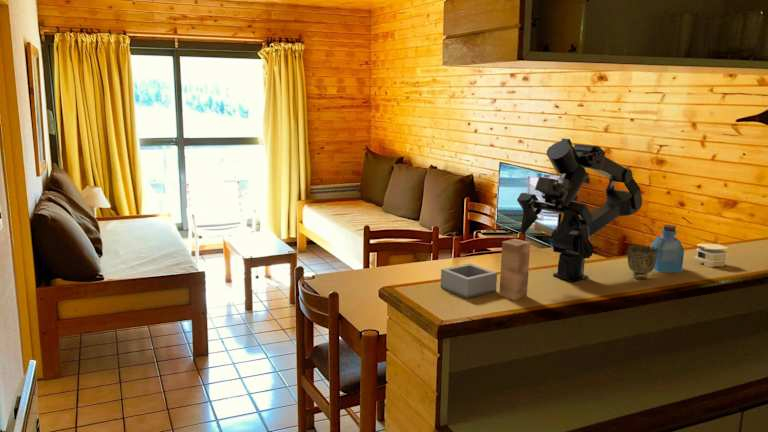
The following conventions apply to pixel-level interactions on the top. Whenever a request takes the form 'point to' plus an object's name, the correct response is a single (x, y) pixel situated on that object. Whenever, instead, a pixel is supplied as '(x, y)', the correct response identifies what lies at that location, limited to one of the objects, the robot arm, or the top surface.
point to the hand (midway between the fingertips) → (537, 236)
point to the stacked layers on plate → (711, 254)
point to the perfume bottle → (668, 251)
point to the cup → (641, 260)
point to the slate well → (468, 280)
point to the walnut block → (514, 269)
